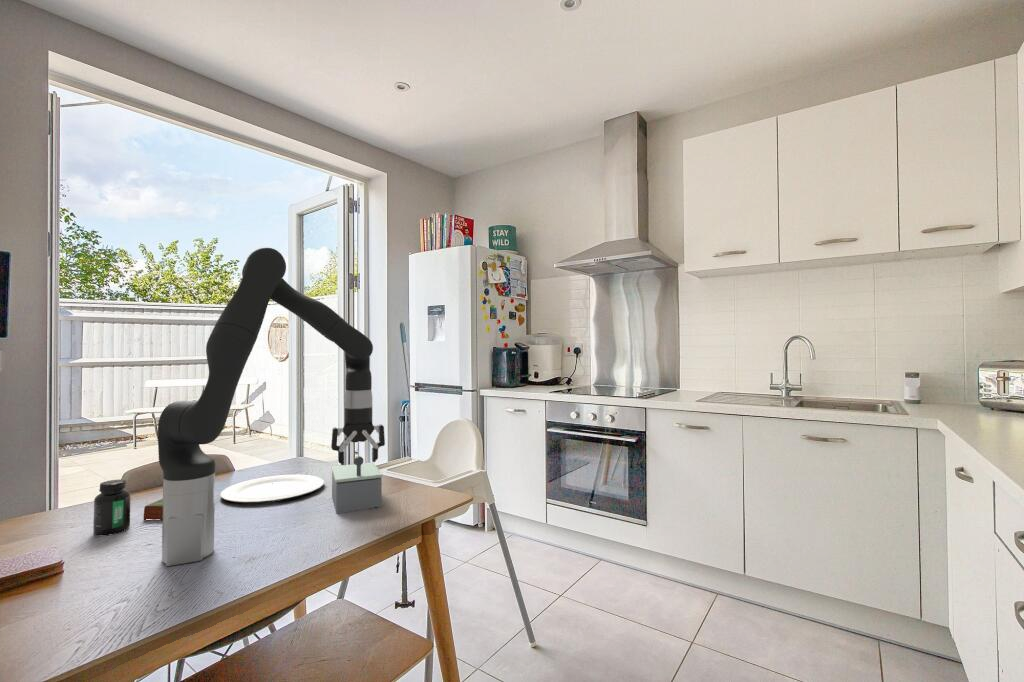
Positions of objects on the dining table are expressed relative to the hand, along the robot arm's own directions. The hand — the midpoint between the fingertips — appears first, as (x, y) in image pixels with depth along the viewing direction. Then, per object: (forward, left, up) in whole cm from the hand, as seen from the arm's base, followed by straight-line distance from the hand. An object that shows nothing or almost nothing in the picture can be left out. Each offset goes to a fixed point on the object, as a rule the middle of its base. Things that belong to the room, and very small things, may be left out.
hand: (358, 463), depth 130 cm
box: (+6, 0, -13) cm, 14 cm away
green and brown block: (+20, +45, -13) cm, 51 cm away
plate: (+28, +22, -13) cm, 38 cm away
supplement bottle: (+9, +57, -13) cm, 59 cm away
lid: (+6, 0, -4) cm, 7 cm away
